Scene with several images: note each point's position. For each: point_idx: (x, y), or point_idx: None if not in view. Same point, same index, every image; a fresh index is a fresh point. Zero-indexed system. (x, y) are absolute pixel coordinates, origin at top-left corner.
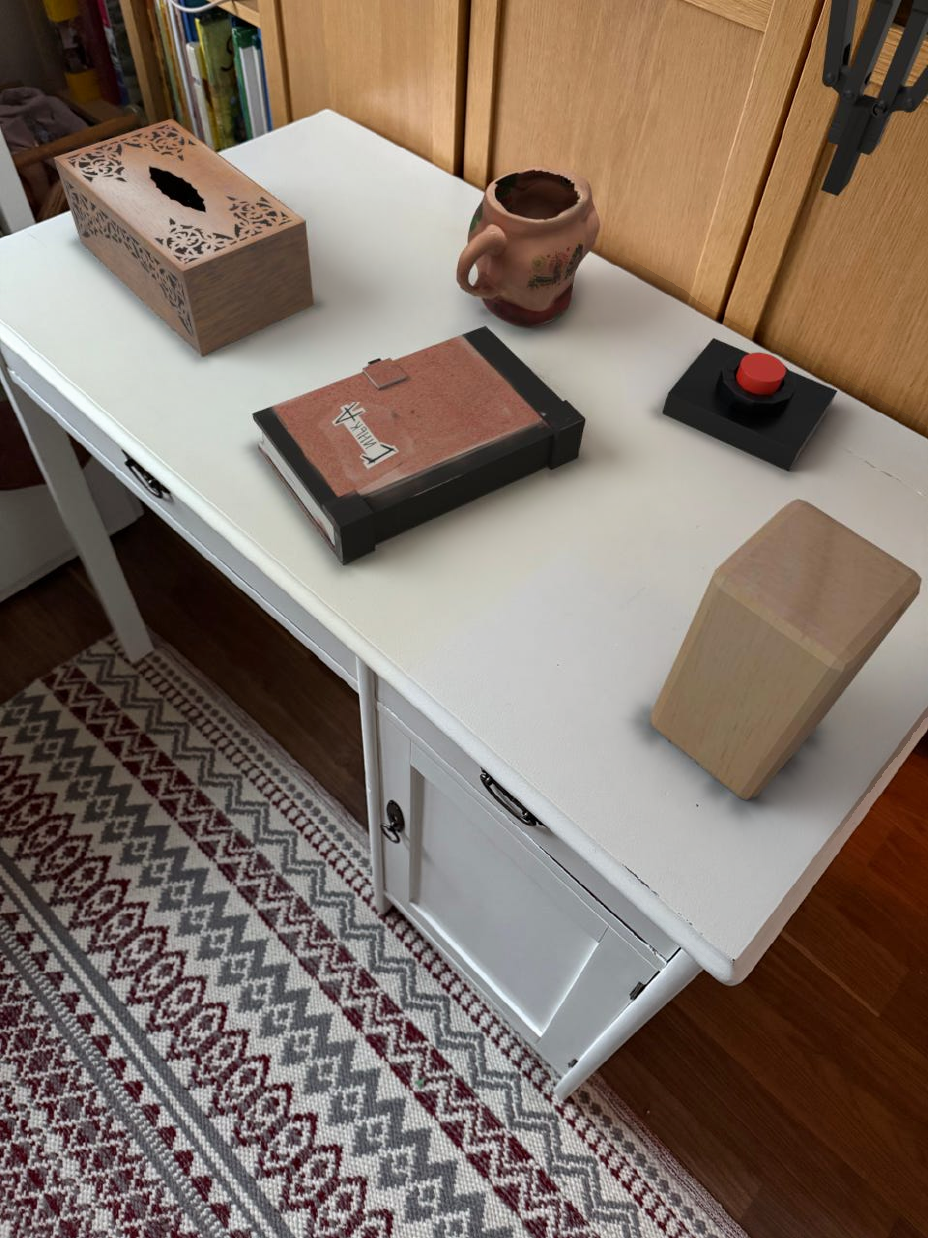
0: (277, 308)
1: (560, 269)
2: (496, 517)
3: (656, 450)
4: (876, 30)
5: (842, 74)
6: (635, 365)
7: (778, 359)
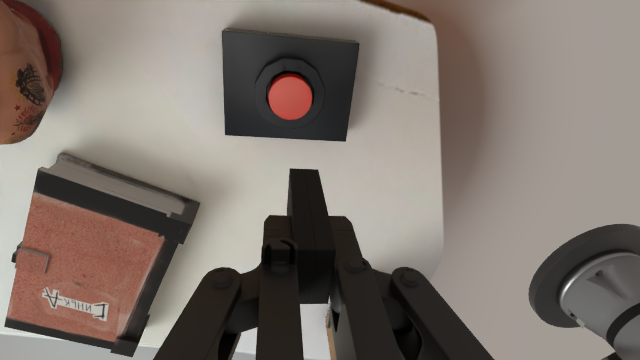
0: None
1: (35, 116)
2: (188, 267)
3: (245, 166)
4: None
5: (243, 331)
6: (173, 79)
7: (299, 79)
